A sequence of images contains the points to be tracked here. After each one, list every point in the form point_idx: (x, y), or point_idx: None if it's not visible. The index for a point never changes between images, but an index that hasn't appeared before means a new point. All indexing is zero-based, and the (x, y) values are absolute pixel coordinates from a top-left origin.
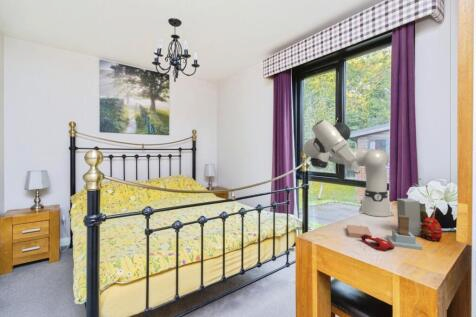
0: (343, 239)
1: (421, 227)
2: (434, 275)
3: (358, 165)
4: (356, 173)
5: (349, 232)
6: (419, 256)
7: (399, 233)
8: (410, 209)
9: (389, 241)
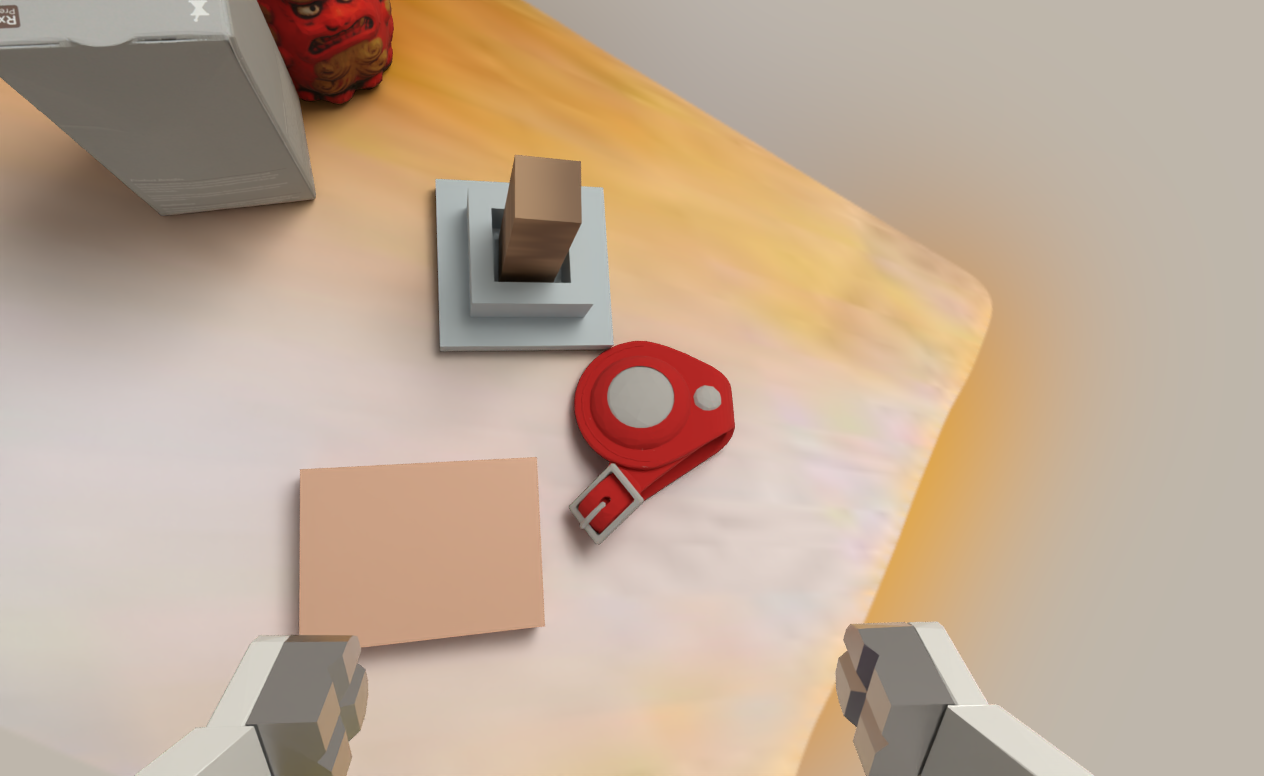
0: (616, 654)
1: (291, 58)
2: (900, 255)
3: (1029, 730)
4: (358, 725)
5: (544, 620)
6: (709, 244)
7: (549, 272)
8: (253, 38)
9: (538, 348)
